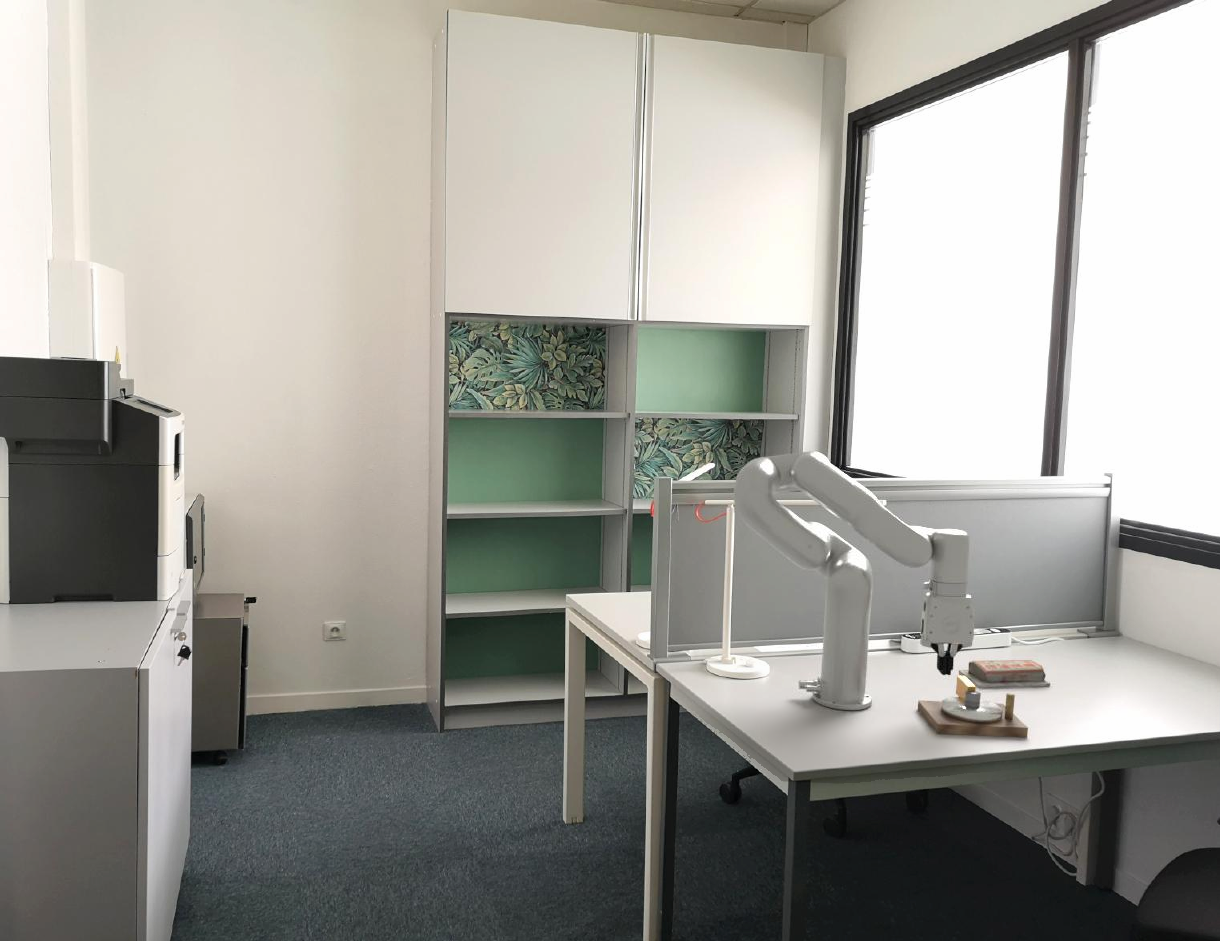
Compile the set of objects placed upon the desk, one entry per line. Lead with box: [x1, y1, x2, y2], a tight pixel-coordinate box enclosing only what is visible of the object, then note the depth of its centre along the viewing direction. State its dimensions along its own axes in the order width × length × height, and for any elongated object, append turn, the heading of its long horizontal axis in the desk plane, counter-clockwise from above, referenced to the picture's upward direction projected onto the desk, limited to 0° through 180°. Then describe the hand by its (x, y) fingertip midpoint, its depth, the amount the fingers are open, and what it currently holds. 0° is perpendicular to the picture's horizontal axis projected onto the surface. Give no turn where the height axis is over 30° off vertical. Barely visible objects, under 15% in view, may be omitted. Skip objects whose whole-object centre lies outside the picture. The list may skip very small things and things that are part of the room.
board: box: [917, 692, 1029, 738], centre depth 215 cm, size 18×14×7 cm
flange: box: [941, 675, 1003, 723], centre depth 216 cm, size 14×12×5 cm
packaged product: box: [958, 659, 1051, 689], centre depth 245 cm, size 18×5×10 cm
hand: (944, 672), depth 220 cm, fingers closed
